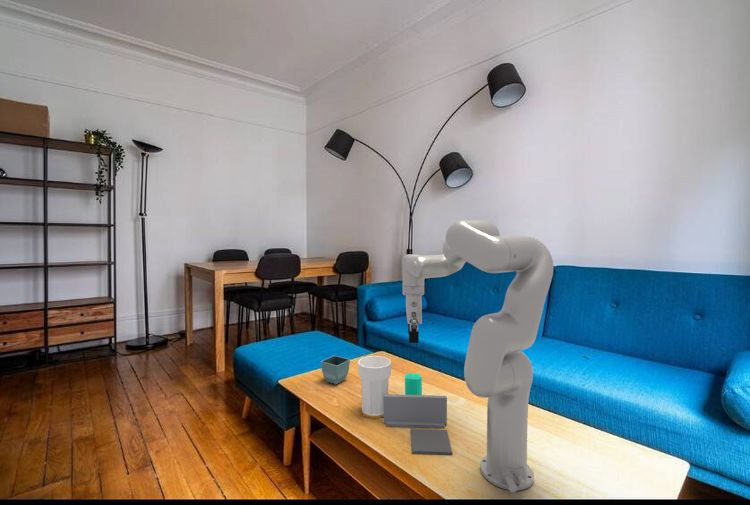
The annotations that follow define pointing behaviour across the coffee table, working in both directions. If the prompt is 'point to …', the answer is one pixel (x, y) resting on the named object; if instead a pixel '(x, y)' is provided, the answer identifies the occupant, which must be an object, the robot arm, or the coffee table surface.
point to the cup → (374, 384)
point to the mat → (430, 442)
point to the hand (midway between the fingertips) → (413, 338)
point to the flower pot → (335, 369)
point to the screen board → (415, 411)
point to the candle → (413, 384)
